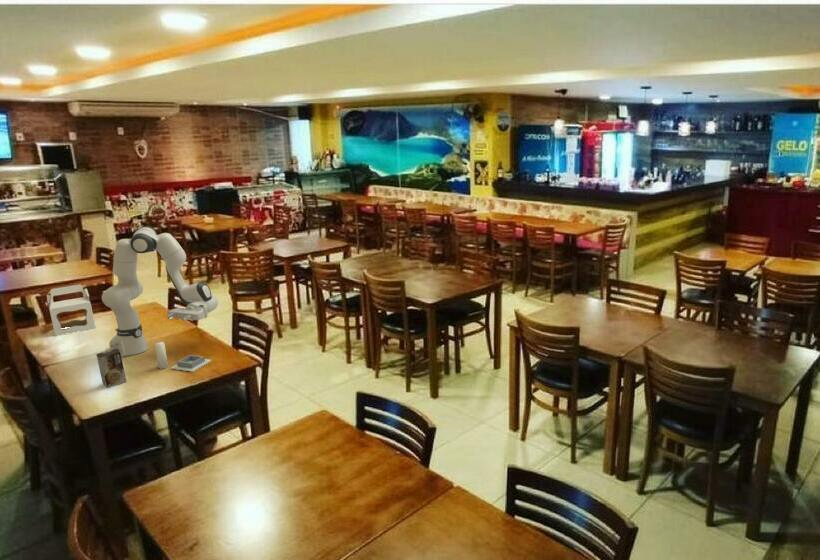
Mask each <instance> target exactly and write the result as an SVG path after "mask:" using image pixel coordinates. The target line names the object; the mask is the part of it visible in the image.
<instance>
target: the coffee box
mask: <svg viewBox="0 0 820 560" xmlns="http://www.w3.org/2000/svg"><path fill="white" fill-rule="evenodd" d="M96 359H97V364H98V367H99V369H98V370H99V372H100V373H99V374H100V377H101V382H102V385H103V386H104V387H105V388H106V389H109V388H112V387H115V386H119V385H122V384H124V383H127V378H126V373H125V372H126V371H125V368H124V364H123V358H122V357H121V353H120V351H119V350H117V349H112V350H109V351H106V350H105V351H102V352H99V353H96Z"/></svg>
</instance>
